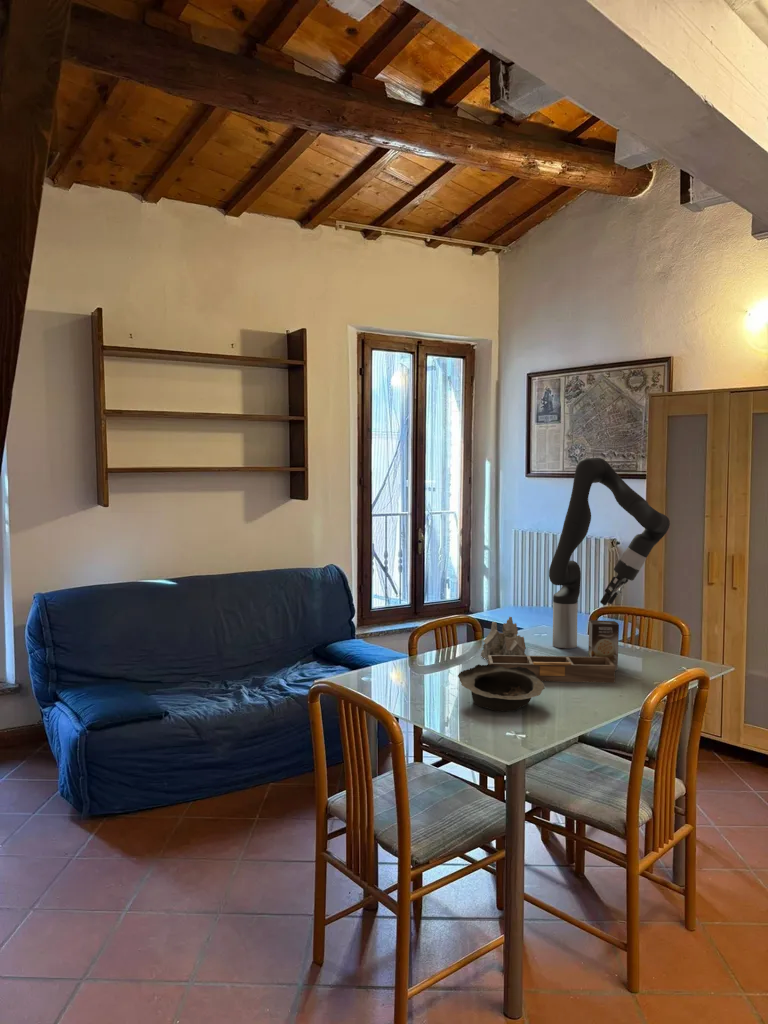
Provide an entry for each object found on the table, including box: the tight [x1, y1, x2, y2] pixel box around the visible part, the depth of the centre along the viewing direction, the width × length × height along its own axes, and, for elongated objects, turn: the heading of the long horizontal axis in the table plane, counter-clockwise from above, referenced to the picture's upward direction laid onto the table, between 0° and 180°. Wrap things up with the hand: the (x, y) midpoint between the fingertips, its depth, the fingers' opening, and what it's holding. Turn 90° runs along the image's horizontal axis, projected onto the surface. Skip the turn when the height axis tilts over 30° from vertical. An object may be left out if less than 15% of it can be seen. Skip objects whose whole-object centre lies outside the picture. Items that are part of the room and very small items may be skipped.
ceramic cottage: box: [480, 616, 527, 660], centre depth 264 cm, size 16×16×15 cm
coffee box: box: [587, 619, 620, 671], centre depth 252 cm, size 9×6×16 cm
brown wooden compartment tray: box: [487, 655, 616, 684], centre depth 241 cm, size 11×40×6 cm, turn 86°
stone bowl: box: [457, 663, 546, 713], centre depth 214 cm, size 25×25×9 cm
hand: (605, 603), depth 252 cm, fingers open, 8 cm apart
